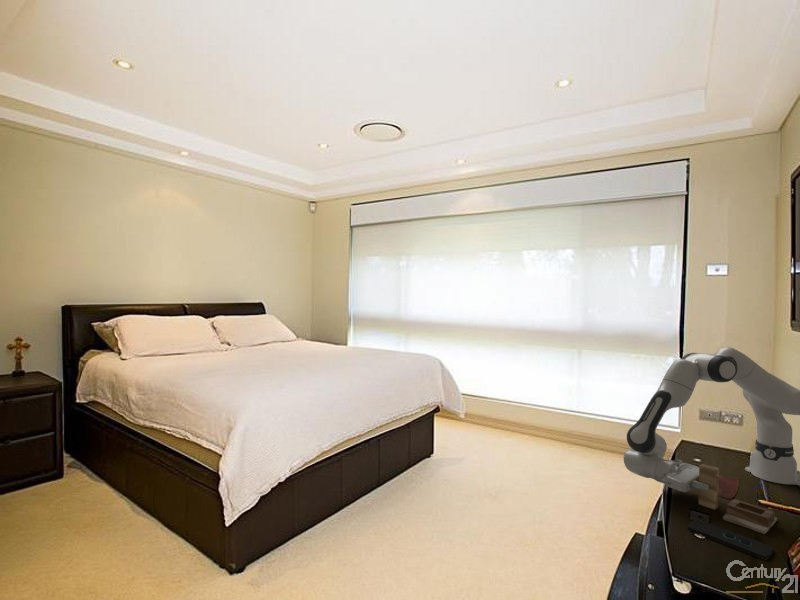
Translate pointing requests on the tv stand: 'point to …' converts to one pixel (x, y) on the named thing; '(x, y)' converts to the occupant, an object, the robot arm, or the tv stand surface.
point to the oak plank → (712, 478)
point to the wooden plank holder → (750, 516)
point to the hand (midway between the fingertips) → (711, 485)
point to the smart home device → (731, 539)
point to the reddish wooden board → (727, 486)
